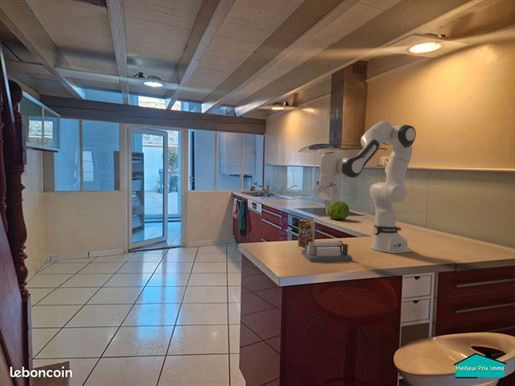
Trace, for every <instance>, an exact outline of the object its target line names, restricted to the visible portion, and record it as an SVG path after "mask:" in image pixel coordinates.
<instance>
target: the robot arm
mask: <svg viewBox="0 0 515 386" xmlns="http://www.w3.org/2000/svg"><path fill="white" fill-rule="evenodd" d="M416 137H417V132H416V129H415V126H414V125H408V124H396V125H392V124H391V123H390V122H389V121H387V120H381V121H378V122H377V123H375V124H374V125H373V126H371V127H370V128H369V129H368V130H366V131H365V132H364V133H363V135H362V136H361V137H360V144H361V147H362V149H361V150H360V151H359V152H358V153H357V155H356V156H353V157H346V158H345V157H343V156H340V154H339V155H338V154H337V153H336V151H328V152H323V153H322V154H321V155H320V160H319V173H320V175H319V179H318V180H317V181H316V185H317V186H316V195H317V198H318V199H320V200H323V204H324V208H325V209H330V205H331V203H333V202H338V201H340V196H339V187H338V186H337V178H338V177H337V176H339V177H348V178H357V177H359V176H360V175H361V173H362V172H363V170H364V168H365V166H366V165H367V163H368V162H369V161H370V160H371V159H372V158H373V157H374V155H376V153H377V152H378V151H379V150H380V149H379V148H380V147H381V146H382V145H385V146H386V145H387V146H392V151H391V153H390V156H389V157H388V161H387V163H386V166H385V169H384V173H385V175H386V179H385V182H382V181H379V182H375V183H373V184H372V185H371V186H370V187H369V190H368V191H369V195H370V196H371V198H372V201H373V205H374V211H375V215H374V219H375V220H374V225H373V238H372V243H371V245H370V249H371V250H372V251H373V250H374V251H377V252H381V253H382V252H384V253H388V254H400V253H401V254H402V253H412V251H413V250H412V248H410V247H409V246H408V245H409V244H408V241H407V239H406V238H405V237H404V236H402V235H401V234H400V233H399V232H401V231H402V229H403V228H402V227H400V226H396V223H397V222H396V220H397V213H396V210H395V209H394V208H393V204H395V203H402V202H403V201H404V200H405V199H406V198H407V196H408V195H407V194H408V193H407V189H406V188H405V175H406V173H407V170H408V167H409V164H410V162H411V158H412V155H413V154H412V153H413V146H412V145H413V144H414V142H415V140H416Z"/></svg>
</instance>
